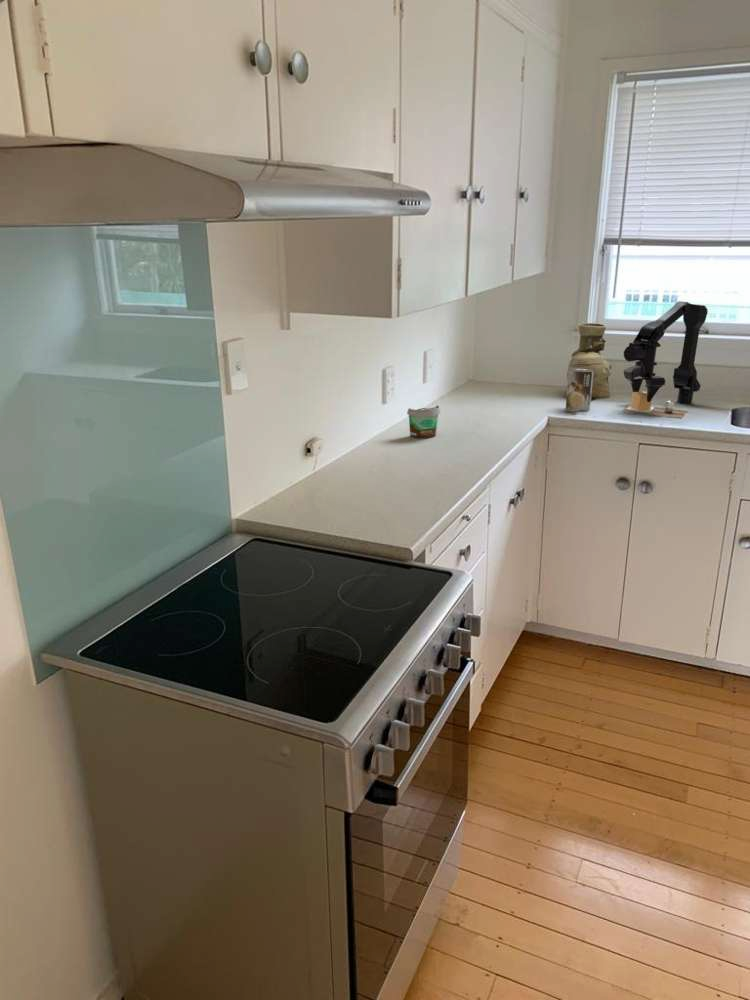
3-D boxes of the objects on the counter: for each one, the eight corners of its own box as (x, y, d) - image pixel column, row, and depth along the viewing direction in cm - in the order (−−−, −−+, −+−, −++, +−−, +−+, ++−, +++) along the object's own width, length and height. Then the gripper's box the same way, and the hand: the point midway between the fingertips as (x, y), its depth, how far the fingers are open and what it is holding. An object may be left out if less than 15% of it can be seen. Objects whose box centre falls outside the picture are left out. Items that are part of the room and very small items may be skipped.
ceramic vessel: (622, 395, 320) (631, 324, 309) (596, 403, 306) (604, 329, 295) (582, 388, 332) (590, 320, 322) (556, 395, 319) (563, 324, 308)
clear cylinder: (665, 411, 289) (666, 400, 288) (673, 412, 288) (674, 401, 286) (663, 413, 287) (665, 401, 285) (671, 414, 285) (673, 402, 284)
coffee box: (590, 409, 295) (595, 369, 290) (588, 413, 290) (593, 372, 284) (566, 407, 299) (570, 367, 293) (564, 411, 293) (568, 370, 287)
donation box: (630, 407, 294) (632, 391, 292) (642, 406, 295) (644, 391, 293) (638, 410, 289) (640, 394, 287) (650, 409, 291) (652, 393, 288)
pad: (631, 405, 298) (631, 404, 298) (654, 408, 294) (654, 407, 294) (625, 410, 291) (625, 409, 291) (649, 413, 287) (649, 412, 287)
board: (629, 406, 301) (630, 404, 301) (687, 413, 291) (688, 411, 290) (621, 413, 290) (621, 411, 289) (681, 421, 279) (681, 418, 279)
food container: (415, 441, 252) (416, 412, 248) (406, 436, 257) (407, 408, 253) (446, 436, 257) (447, 408, 254) (436, 432, 262) (438, 404, 259)
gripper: (615, 355, 292) (610, 395, 298) (642, 364, 275) (636, 405, 281) (640, 354, 295) (635, 393, 300) (668, 363, 278) (662, 404, 283)
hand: (641, 399), depth 291 cm, fingers open, 9 cm apart
